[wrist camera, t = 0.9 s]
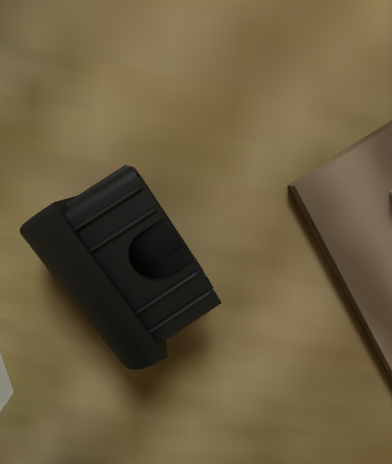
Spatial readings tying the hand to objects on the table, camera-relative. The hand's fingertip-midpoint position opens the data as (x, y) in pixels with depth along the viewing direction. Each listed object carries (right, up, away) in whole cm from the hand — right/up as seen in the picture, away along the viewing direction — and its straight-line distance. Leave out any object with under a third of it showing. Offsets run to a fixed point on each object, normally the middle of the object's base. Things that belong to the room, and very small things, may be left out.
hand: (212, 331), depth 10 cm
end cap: (-5, +2, +14) cm, 15 cm away
